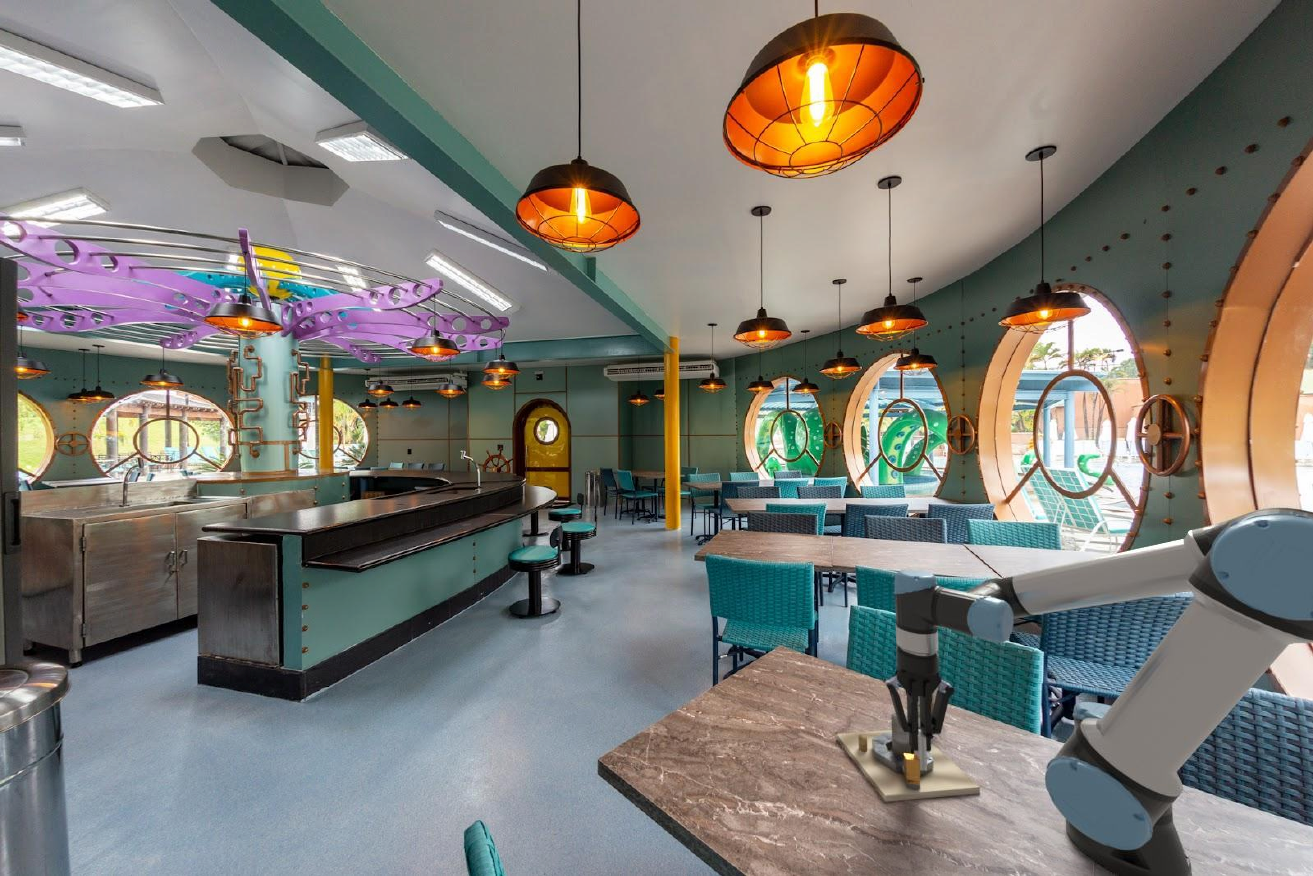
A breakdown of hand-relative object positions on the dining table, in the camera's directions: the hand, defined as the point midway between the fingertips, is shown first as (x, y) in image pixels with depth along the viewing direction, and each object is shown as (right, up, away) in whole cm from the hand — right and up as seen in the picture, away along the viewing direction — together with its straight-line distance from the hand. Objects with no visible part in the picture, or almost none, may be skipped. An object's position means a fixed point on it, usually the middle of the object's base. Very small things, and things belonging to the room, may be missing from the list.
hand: (920, 765), depth 94 cm
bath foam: (+14, -6, +24) cm, 28 cm away
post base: (+1, -5, +8) cm, 10 cm away
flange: (0, -4, +6) cm, 7 cm away
